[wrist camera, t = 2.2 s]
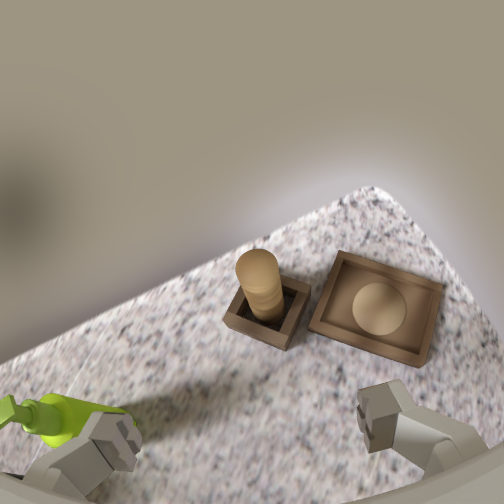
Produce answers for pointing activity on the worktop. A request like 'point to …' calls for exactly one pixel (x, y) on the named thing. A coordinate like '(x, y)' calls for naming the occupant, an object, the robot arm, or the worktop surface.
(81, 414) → the soap dispenser
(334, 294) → the tray
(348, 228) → the worktop surface
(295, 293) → the socket
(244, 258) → the dowel
